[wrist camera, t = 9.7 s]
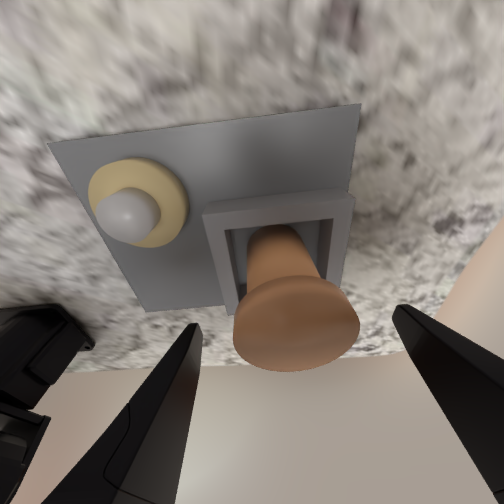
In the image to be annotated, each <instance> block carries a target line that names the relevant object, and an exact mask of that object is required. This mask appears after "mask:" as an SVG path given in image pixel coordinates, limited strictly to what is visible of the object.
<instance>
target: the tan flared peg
mask: <svg viewBox="0 0 504 504" xmlns="http://www.w3.org/2000/svg"><path fill="white" fill-rule="evenodd" d="M359 331H360V322H359V318H358V316H357V314H356V312H355V311H354V309H353V307H352V306H351V304H350V302H349V300H348V299H347V297H346V295H345V294H344V292H343V291H342V290H341V289H340V288H339V287H338V286H336V285H335V284H333V283H331V282H330V281H327V280H325V279H322V278H321V277H320V275H319V273H318V271H317V269H316V267H315V265H314V263H313V261H312V259H311V257H310V255H309V253H308V251H307V249H306V247H305V245H304V243H303V240H302V238H301V237H300V235H299V234H298V232H297V231H296V230H294V229H293V228H291V227H289V226H287V225H283V224H275V225H267V226H264V227H262V228H260V229H258V230H257V231H256V232H255V233H254V234H253V235H252V236H251V237H250V239H249V241H248V244H247V294H246V295H245V296H244V297H243V299H242V300H241V301H240V303H239V304H238V306H237V308H236V311H235V314H234V330H233V344H234V347H235V350H236V351H237V353H238V354H239V355H240V356H241V357H242V358H243V359H244V360H245V361H247V362H248V363H250V364H252V365H254V366H256V367H259V368H262V369H266V370H271V371H280V372H293V371H302V370H308V369H312V368H316V367H319V366H322V365H324V364H327V363H329V362H331V361H333V360H335V359H337V358H338V357H340V356H341V355H343V354H344V353H345V352H347V351H348V350H349V349H350V348H351V347H352V345H353V344H354V343H355V341H356V339H357V337H358V335H359Z"/></svg>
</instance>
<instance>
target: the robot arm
mask: <svg viewBox="0 0 504 504" xmlns="http://www.w3.org/2000/svg"><path fill="white" fill-rule="evenodd" d="M392 321H393V323H394V326H395V328H396V330H397V332H398V334H399V336H400V338H401V340H402V342H403V344H404V346H405V348H406V350H407V352H408V354H409V356H410V358H411V360H412V361H413V363H414V365H415V366H416V368H417V369H418V371H419V373H420V374H421V376H422V378H423V379H424V381H425V383H426V384H427V386H428V388H429V389H430V391H431V393H432V394H433V396H434V398H435V399H436V401H437V402H438V404H439V406H440V407H441V409H442V410H443V412H444V414H445V415H446V417H447V419H448V421H449V422H450V424H451V426H452V427H453V429H454V431H455V432H456V434H457V435H458V437H459V439H460V440H461V442H462V444H463V445H464V447H465V448H466V450H467V452H468V454H469V455H470V457H471V459H472V460H473V462H474V464H475V465H476V467H477V468H478V470H479V472H480V473H481V475H482V477H483V478H484V480H485V482H486V483H487V485H488V487H489V488H490V490H491V491H492V492H493V495H494V497H495V498H496V500H497V502H498V503H499V504H504V359H502V358H500V357H498V356H497V355H495V354H493V353H491V352H490V351H488V350H486V349H485V348H483V347H481V346H479V345H478V344H476V343H474V342H473V341H471V340H469V339H467V338H466V337H464V336H462V335H461V334H459V333H457V332H455V331H454V330H452V329H450V328H448V327H447V326H445V325H443V324H442V323H440V322H438V321H436V320H435V319H433V318H431V317H430V316H428V315H426V314H424V313H423V312H421V311H419V310H418V309H416V308H414V307H412V306H411V305H408V304H400V305H397V306H396V308H395V310H394V313H393V315H392ZM202 342H203V334H202V331H201V329H200V326H199V324H198V323H190V324H188V325H187V327H186V328H185V329H184V331H183V332H182V333H181V334H180V336H179V337H178V338H177V340H176V341H175V342H174V343H173V345H172V346H171V347H170V349H169V350H168V351H167V353H166V354H165V355H164V356H163V358H162V359H161V360H160V362H159V363H158V364H157V365H156V367H155V368H154V369H153V371H152V372H151V373H150V375H149V376H148V377H147V379H146V380H145V381H144V383H143V384H142V385H141V386H140V387H139V389H138V390H137V391H136V393H135V394H134V395H133V396H132V398H131V399H130V400H129V403H127V404H126V406H125V407H124V408H123V409H122V410H121V412H120V413H119V414H118V416H117V417H116V418H115V419H114V421H113V422H112V423H111V424H110V426H109V427H108V428H107V429H106V431H105V432H104V433H103V434H102V435H101V436H100V437H99V439H98V440H97V441H96V442H95V443H94V445H93V446H92V447H91V448H90V449H89V450H88V451H87V453H86V454H85V455H84V456H83V457H82V458H81V459H80V461H79V462H78V463H77V464H76V465H75V466H74V467H73V468H72V470H71V471H70V472H69V473H68V474H67V475H66V476H65V477H64V479H63V480H62V481H61V482H60V483H59V484H58V485H57V486H56V488H55V489H54V490H53V491H52V492H51V493H50V494H49V495H48V497H47V498H46V499H45V500H44V501H43V502H42V503H41V504H175V499H176V494H177V489H178V484H179V478H180V473H181V468H182V463H183V458H184V452H185V447H186V442H187V437H188V432H189V426H190V421H191V416H192V410H193V405H194V400H195V395H196V390H197V385H198V380H199V374H200V365H201V353H202ZM94 346H95V344H94V343H93V342H92V341H91V339H90V338H89V337H88V336H87V335H86V334H85V333H84V332H83V331H82V330H81V328H80V327H79V326H78V325H77V324H76V323H75V322H74V321H73V320H72V319H71V317H70V316H69V315H68V314H67V313H66V312H65V311H64V310H63V309H62V308H61V307H60V306H58V305H55V304H52V305H42V306H31V307H21V308H11V309H1V310H0V504H10V502H11V501H12V499H13V498H14V496H15V494H16V492H17V490H18V488H19V486H20V484H21V482H22V480H23V478H24V476H25V474H26V472H27V469H28V467H29V465H30V463H31V461H32V459H33V457H34V454H35V452H36V450H37V448H38V446H39V444H40V442H41V440H42V437H43V435H44V433H45V431H46V429H47V427H48V425H49V422H50V420H51V417H49V416H46V415H44V416H41V415H39V414H36V413H33V412H31V411H28V410H31V409H34V407H35V406H36V405H37V403H38V402H39V400H40V399H41V398H42V396H43V395H44V394H45V392H46V391H47V390H48V388H49V387H50V385H53V384H55V383H56V381H57V380H58V379H59V377H60V376H61V375H62V373H63V372H64V370H65V369H66V368H67V366H68V365H69V364H70V362H71V361H72V360H73V358H74V357H75V355H76V354H77V353H78V352H79V351H90V350H92V349H93V348H94Z"/></svg>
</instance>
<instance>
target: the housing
mask: <svg viewBox="0 0 504 504" xmlns="http://www.w3.org/2000/svg"><path fill="white" fill-rule="evenodd" d="M361 104H362V103H360V104H353V105H345V106H337V107H329V108H321V109H313V110H305V111H297V112H290V113H282V114H274V115H266V116H258V117H250V118H242V119H235V120H227V121H219V122H211V123H203V124H195V125H187V126H179V127H172V128H164V129H156V130H148V131H140V132H132V133H124V134H116V135H109V136H101V137H93V138H85V139H77V140H69V141H61V142H54V143H47V145H48V146H49V148H50V150H51V152H52V153H53V155H54V157H55V158H56V160H57V162H58V163H59V165H60V167H61V169H62V170H63V172H64V174H65V175H66V177H67V179H68V181H69V182H70V184H71V186H72V187H73V189H74V191H75V192H76V194H77V196H78V198H79V199H80V201H81V203H82V204H83V206H84V208H85V210H86V211H87V213H88V215H89V216H90V218H91V220H92V221H93V223H94V225H95V227H96V228H97V230H98V232H99V233H100V235H101V237H102V239H103V240H104V242H105V244H106V245H107V247H108V249H109V250H110V252H111V254H112V256H113V257H114V259H115V261H116V262H117V264H118V266H119V268H120V269H121V271H122V273H123V274H124V276H125V278H126V279H127V281H128V283H129V285H130V286H131V288H132V290H133V291H134V293H135V295H136V297H137V298H138V300H139V302H140V303H141V305H142V307H143V308H144V310H145V312H156V311H167V310H178V309H188V308H199V307H209V306H220V305H225V307H226V311H227V314H228V316H229V315H234V314H235V311H236V308H237V306H238V304H239V303H240V301H241V300H242V299H243V297H244V296H245V295H246V294H247V244H248V241H249V239H250V237H251V236H252V235H253V234H254V233H255V232H256V231H257V230H258V229H260V228H262V227H264V226H267V225H275V224H283V225H287V226H289V227H291V228H293V229H294V230H296V231H297V232H298V234H299V235H300V237H301V238H302V240H303V243H304V245H305V247H306V249H307V251H308V253H309V255H310V257H311V259H312V261H313V263H314V265H315V267H316V269H317V271H318V273H319V275H320V277H321V278H322V279H325V280H327V281H330V282H331V283H333V284H335V285H336V286H338V287H339V288H340V283H341V277H342V272H343V266H344V260H345V255H346V249H347V244H348V238H349V232H350V227H351V221H352V216H353V210H354V205H355V199H356V198H355V197H354V196H352V195H351V194H349V193H348V188H349V181H350V175H351V168H352V162H353V155H354V149H355V142H356V136H357V129H358V123H359V116H360V110H361Z"/></svg>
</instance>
